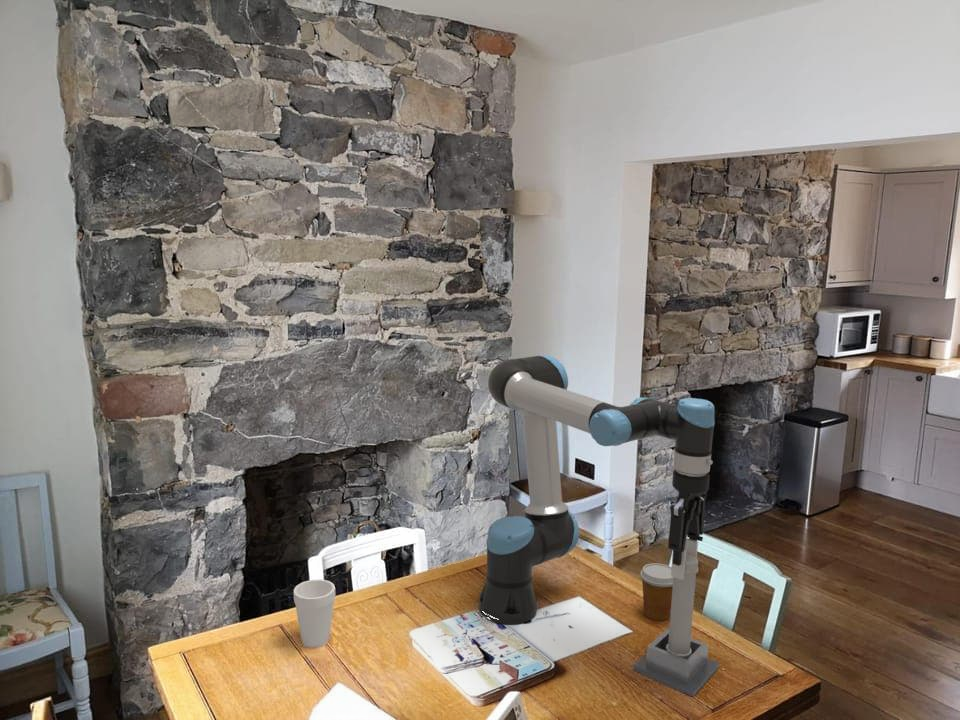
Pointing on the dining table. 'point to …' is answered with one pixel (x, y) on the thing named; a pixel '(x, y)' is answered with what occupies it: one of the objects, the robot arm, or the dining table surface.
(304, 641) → the foam cup
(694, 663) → the pipe socket
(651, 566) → the disposable coffee cup
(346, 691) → the dining table surface
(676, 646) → the pipe
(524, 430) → the robot arm
